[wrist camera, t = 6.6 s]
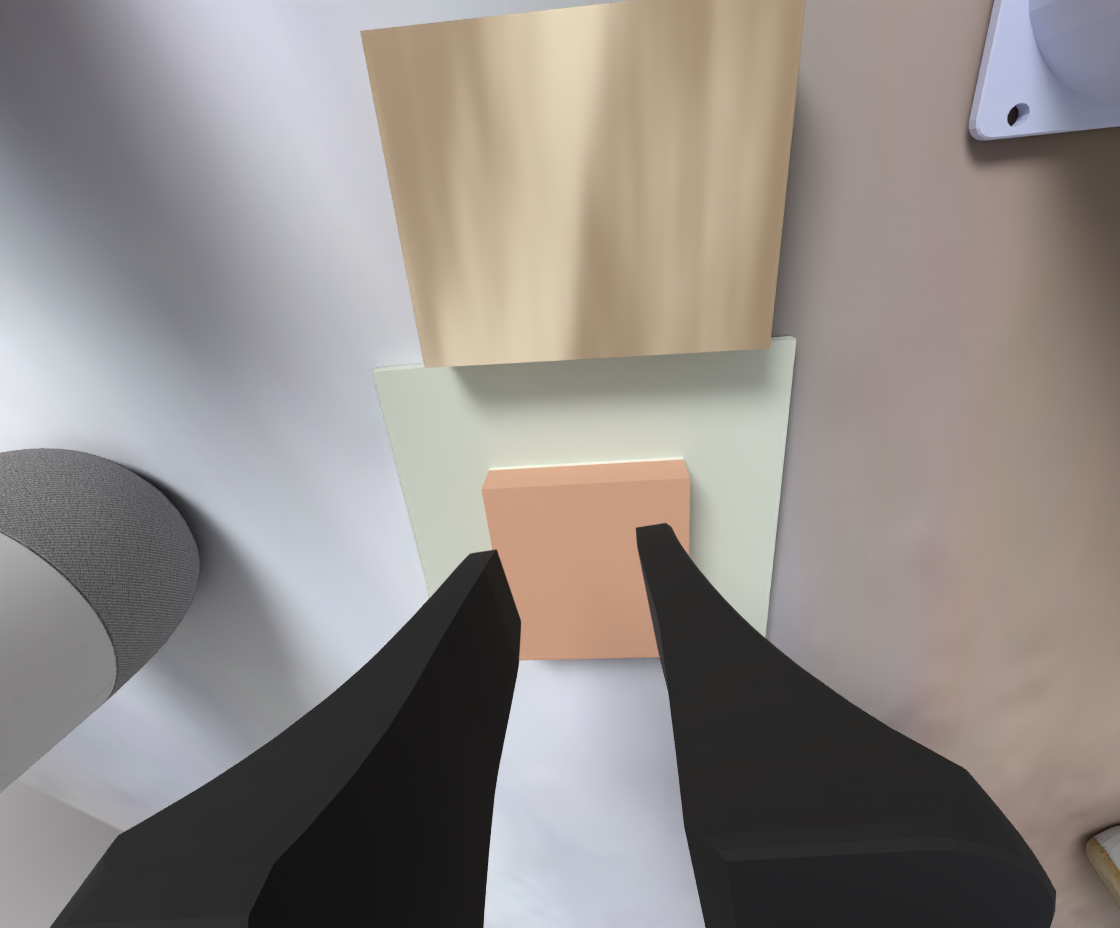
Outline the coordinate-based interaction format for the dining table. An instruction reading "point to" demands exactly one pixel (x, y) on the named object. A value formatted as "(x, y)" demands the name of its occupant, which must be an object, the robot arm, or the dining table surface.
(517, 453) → the mat
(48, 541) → the smart speaker
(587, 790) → the dining table surface
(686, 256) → the light wooden block
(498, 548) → the tile
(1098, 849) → the ceramic mug
